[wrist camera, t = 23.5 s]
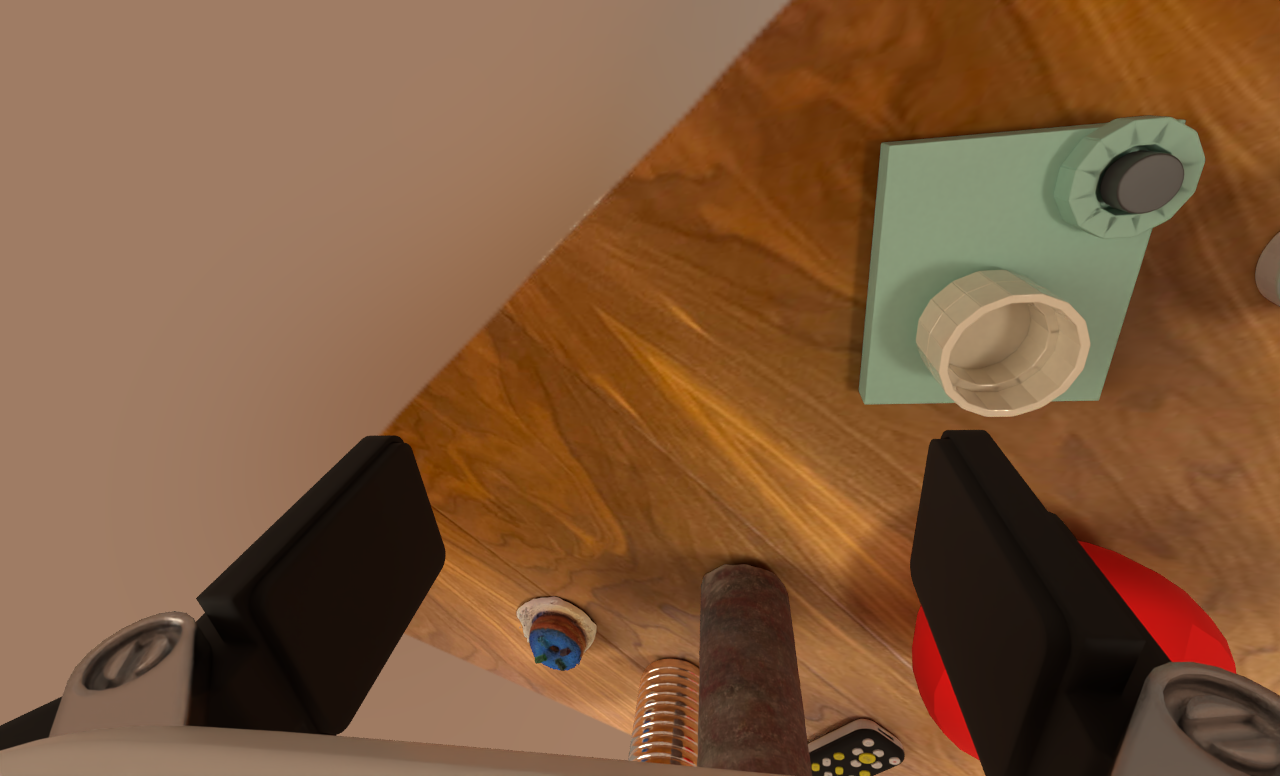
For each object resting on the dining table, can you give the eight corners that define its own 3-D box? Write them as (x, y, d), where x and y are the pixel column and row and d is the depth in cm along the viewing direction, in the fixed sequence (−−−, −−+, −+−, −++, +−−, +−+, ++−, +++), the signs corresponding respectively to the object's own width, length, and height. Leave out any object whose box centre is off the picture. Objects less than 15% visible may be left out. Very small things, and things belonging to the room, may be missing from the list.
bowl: (921, 270, 33) (951, 298, 29) (1054, 263, 32) (1106, 291, 28) (906, 378, 36) (931, 417, 32) (1027, 375, 35) (1070, 416, 31)
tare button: (1107, 152, 28) (1126, 156, 27) (1171, 147, 28) (1194, 150, 26) (1092, 210, 29) (1110, 216, 28) (1153, 206, 29) (1174, 212, 28)
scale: (881, 135, 32) (897, 141, 29) (1170, 109, 30) (1222, 112, 27) (858, 391, 39) (869, 416, 36) (1088, 386, 37) (1121, 413, 34)
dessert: (615, 643, 54) (573, 698, 51) (583, 628, 59) (543, 677, 56) (564, 584, 52) (517, 637, 49) (536, 575, 57) (492, 622, 54)
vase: (1106, 668, 48) (1310, 978, 31) (879, 656, 51) (953, 933, 34) (1179, 495, 40) (1509, 791, 23) (902, 493, 43) (1016, 754, 26)
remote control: (769, 759, 60) (770, 779, 59) (864, 711, 55) (869, 732, 53) (810, 785, 62) (813, 806, 60) (907, 742, 56) (913, 763, 54)
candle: (755, 540, 47) (772, 810, 29) (806, 593, 49) (852, 876, 31) (684, 577, 50) (661, 842, 32) (735, 626, 52) (740, 901, 34)
